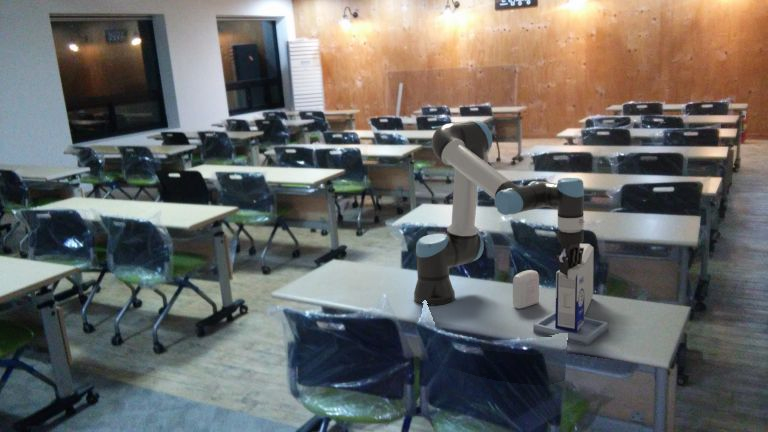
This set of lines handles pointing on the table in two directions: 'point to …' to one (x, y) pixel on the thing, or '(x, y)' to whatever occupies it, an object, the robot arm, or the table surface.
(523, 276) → the photo printer
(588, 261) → the bevelled white case
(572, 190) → the robot arm
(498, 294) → the table surface
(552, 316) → the tray
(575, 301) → the milk carton
